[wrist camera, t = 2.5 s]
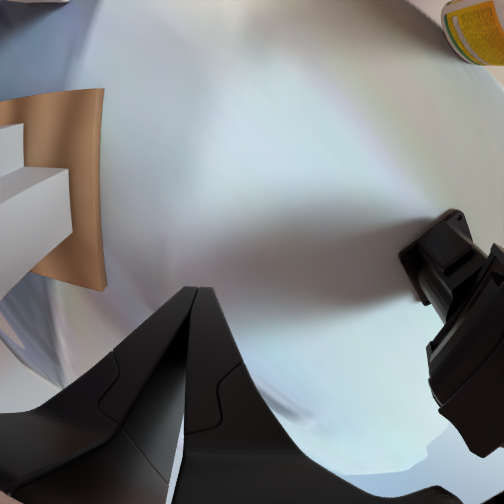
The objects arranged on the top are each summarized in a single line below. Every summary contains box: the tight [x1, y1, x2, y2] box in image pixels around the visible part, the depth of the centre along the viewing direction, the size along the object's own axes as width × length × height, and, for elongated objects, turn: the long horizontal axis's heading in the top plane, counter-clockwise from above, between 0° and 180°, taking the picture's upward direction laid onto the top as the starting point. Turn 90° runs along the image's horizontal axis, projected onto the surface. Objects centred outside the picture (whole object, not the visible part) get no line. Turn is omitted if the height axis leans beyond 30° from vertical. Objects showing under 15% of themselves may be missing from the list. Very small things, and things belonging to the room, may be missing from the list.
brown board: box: [0, 89, 107, 292], centre depth 18 cm, size 18×16×1 cm
